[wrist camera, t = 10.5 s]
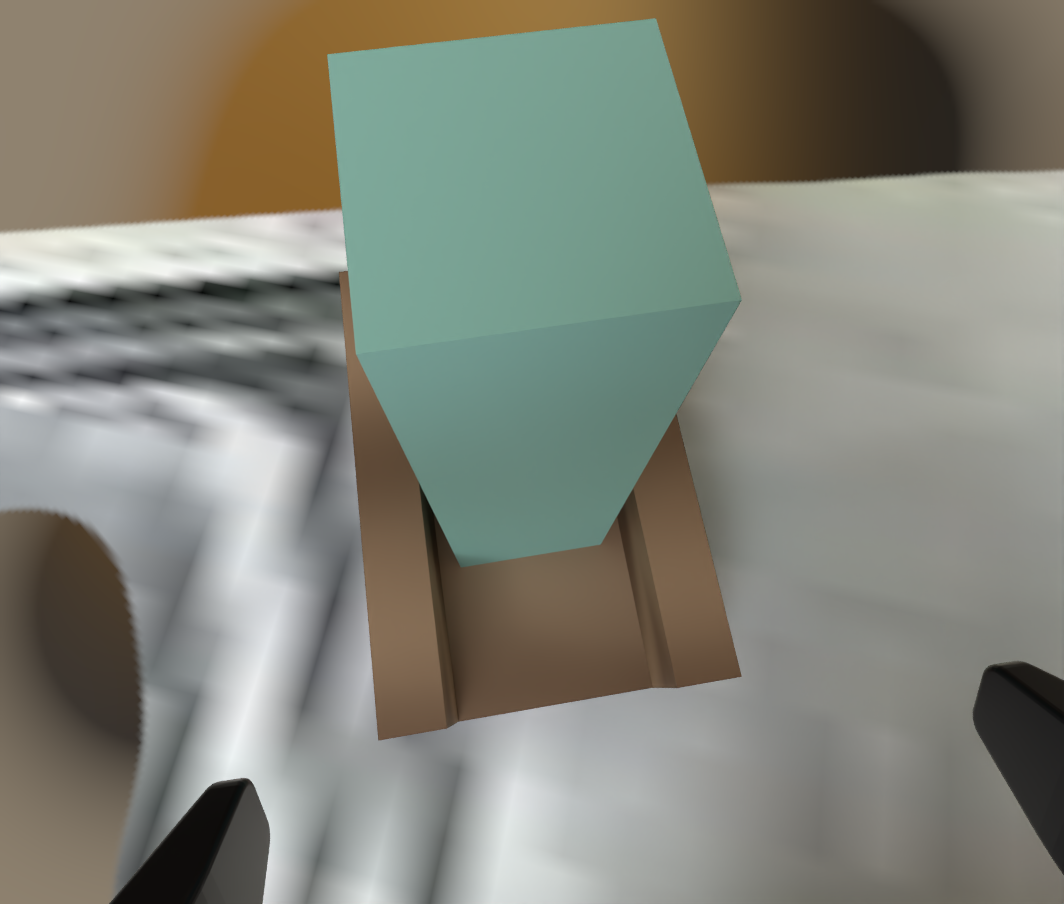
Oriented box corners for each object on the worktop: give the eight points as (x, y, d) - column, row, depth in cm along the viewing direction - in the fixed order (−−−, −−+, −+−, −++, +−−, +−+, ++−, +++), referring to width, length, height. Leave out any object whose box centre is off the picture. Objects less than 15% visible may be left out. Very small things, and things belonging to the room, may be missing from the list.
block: (600, 544, 19) (742, 299, 7) (460, 567, 19) (355, 353, 7) (574, 415, 21) (655, 18, 8) (442, 435, 20) (327, 54, 8)
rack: (698, 678, 19) (741, 676, 15) (406, 729, 19) (378, 740, 15) (613, 308, 23) (631, 234, 19) (369, 341, 22) (339, 271, 19)
